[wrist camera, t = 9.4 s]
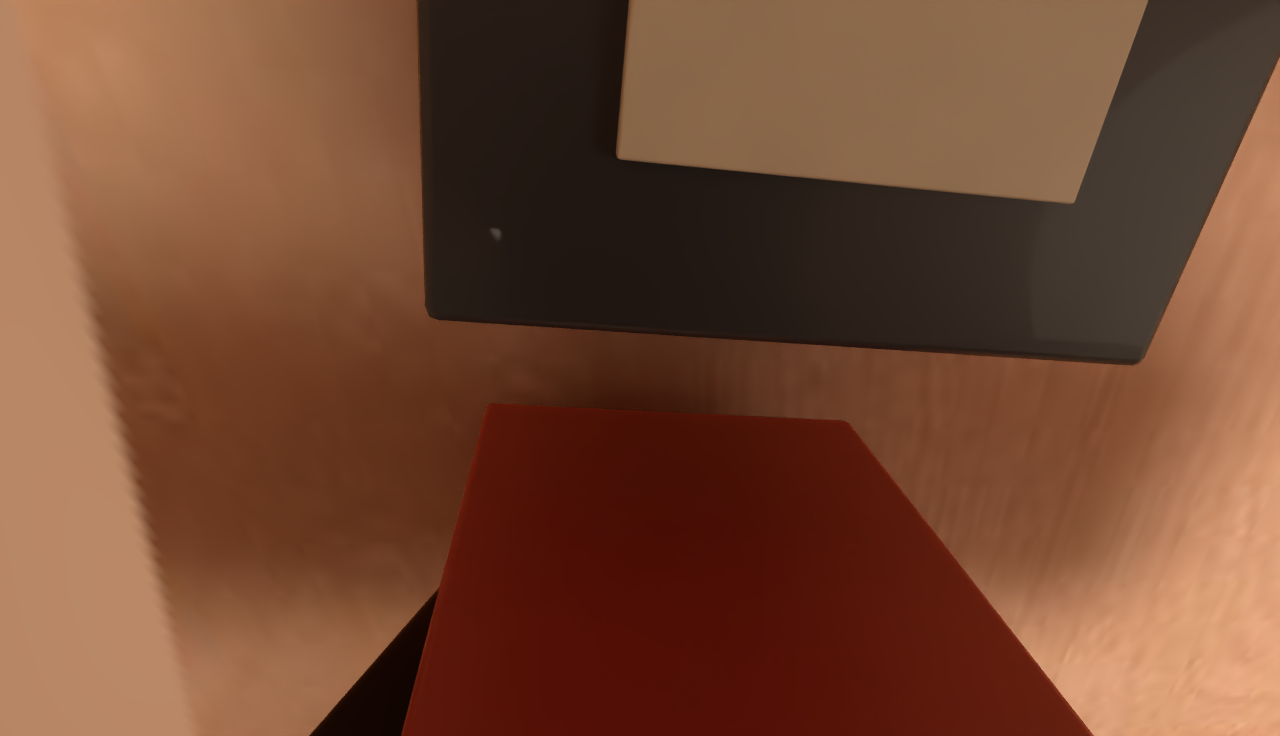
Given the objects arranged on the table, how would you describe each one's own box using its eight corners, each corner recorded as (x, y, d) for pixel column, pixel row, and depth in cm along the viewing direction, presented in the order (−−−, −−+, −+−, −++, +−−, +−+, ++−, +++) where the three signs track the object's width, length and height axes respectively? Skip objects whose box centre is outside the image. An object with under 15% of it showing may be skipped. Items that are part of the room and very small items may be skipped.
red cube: (781, 674, 11) (928, 1100, 7) (482, 676, 11) (413, 1145, 6) (848, 418, 9) (1126, 767, 5) (486, 400, 9) (384, 787, 4)
